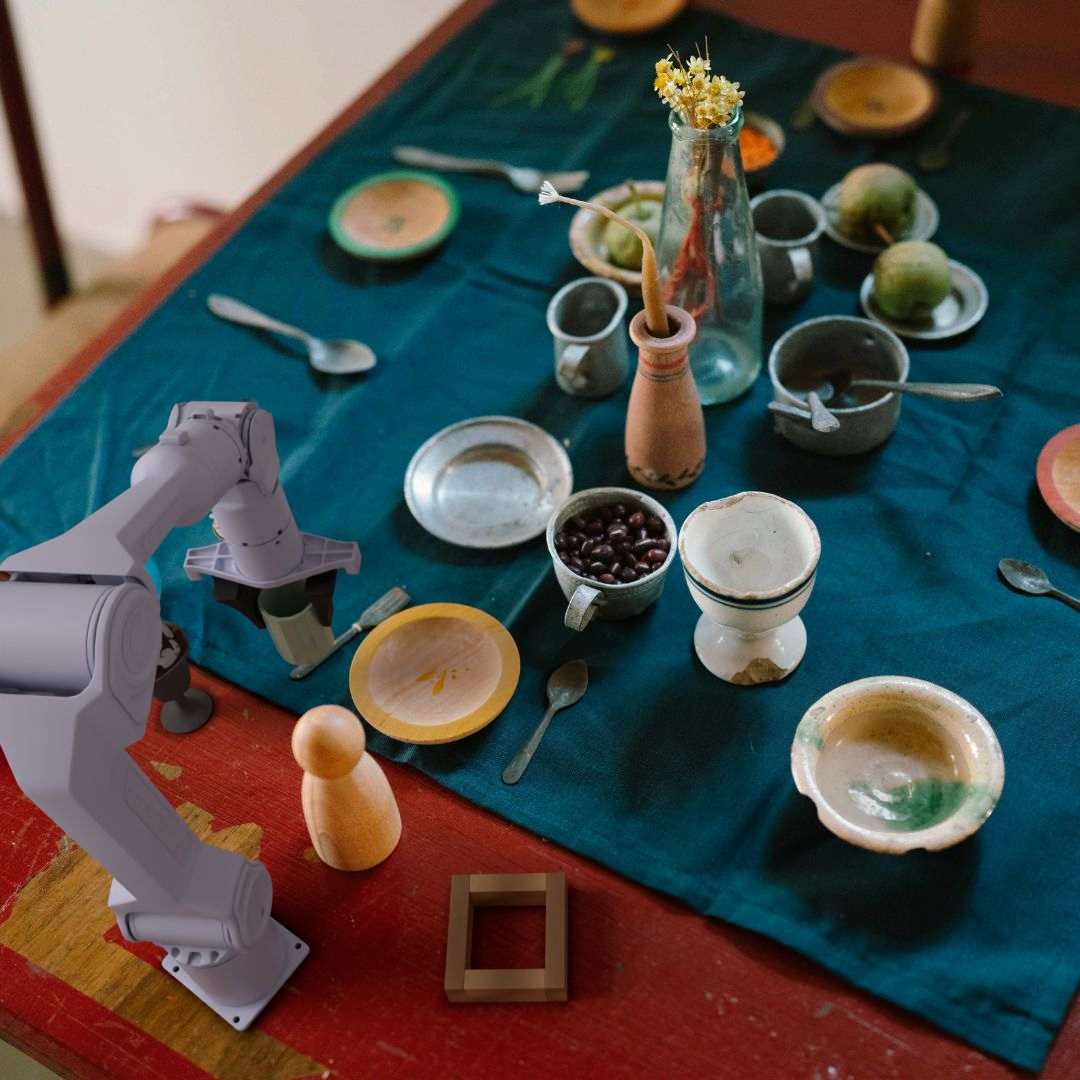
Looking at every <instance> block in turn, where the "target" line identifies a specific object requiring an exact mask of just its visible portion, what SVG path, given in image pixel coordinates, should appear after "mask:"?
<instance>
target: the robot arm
mask: <svg viewBox="0 0 1080 1080" xmlns="http://www.w3.org/2000/svg"><path fill="white" fill-rule="evenodd" d="M169 415H170V416H169V419H168V423H167V426H166V429H165V430H163V432H162V434H160V435H159V437H158V439H159V441H158V442H157V443H156V444H154V446H152V447H151V448H150V449H149V450H148V451H147V452H145V453H144V454H143V455H142V456H140V457H139V459H137V461H136V462H135V464H134V465H133V468H132V471H131V473H130V487H129V488H128V489H126V490H125V491H123V492H122V493H121V494H119V495H118V496H116V497H115V498H113V499H112V500H111V501H109V502H108V503H106V504H105V505H103V506H102V507H101V508H99V509H98V510H96V511H95V512H93V513H92V514H90V515H88V516H87V517H86V518H85V519H83V520H82V521H80V522H79V523H77V524H76V525H74V526H73V527H72V528H71V529H69V530H67V531H66V532H64V533H62V534H60V535H58V536H55V537H53V538H51V539H48V540H46V541H44V542H42V543H39V544H36V545H34V546H32V547H29V548H27V549H24V550H22V551H20V552H19V551H18V552H17V553H15V554H12V555H10V556H8V557H6V558H5V560H3V561H2V562H1V564H0V572H5V573H7V574H9V575H10V578H9V579H7V578H1V577H0V747H1V749H2V752H3V754H4V756H5V759H6V761H7V763H8V765H9V767H10V769H11V772H12V774H13V777H14V778H15V781H16V784H17V785H18V788H20V790H21V791H22V792H23V794H24V795H25V796H26V797H27V798H28V799H29V800H31V802H33V803H34V805H36V806H37V808H39V809H40V810H41V811H42V812H43V813H44V814H45V815H47V817H48V818H49V819H50V820H51V821H52V822H54V823H55V824H56V825H57V826H58V827H59V828H60V829H61V830H62V831H63V832H65V833H66V835H68V836H69V837H70V838H71V840H73V841H74V842H75V843H76V844H77V845H78V846H79V847H80V848H81V849H83V851H85V852H86V853H87V854H88V855H89V857H91V858H92V859H93V860H94V861H95V862H96V863H97V864H98V865H100V866H101V868H103V869H104V871H106V872H107V873H108V874H109V875H110V876H111V877H112V881H111V884H110V889H109V894H108V901H107V906H108V908H109V909H110V910H111V911H112V912H113V913H114V914H115V917H116V922H117V926H118V928H119V929H120V932H121V934H122V936H123V938H124V939H125V940H126V941H127V942H131V943H142V942H149V943H150V942H151V943H153V944H154V946H156V947H161V948H163V949H164V950H165V951H166V952H167V953H168V954H167V955H166V956H165V957H164V958H163V960H162V961H161V965H162V967H163V969H164V970H166V971H167V972H168V973H169V974H170V975H171V976H173V977H174V978H175V979H176V980H177V981H179V983H181V984H182V985H183V986H184V987H186V988H187V989H188V990H189V991H191V992H192V993H193V994H194V995H195V996H196V997H198V998H199V999H200V1000H201V1001H202V1002H204V1004H206V1005H207V1006H208V1007H209V1008H210V1009H212V1010H213V1011H214V1012H215V1013H216V1014H218V1015H219V1016H220V1017H221V1018H222V1019H224V1020H225V1021H226V1022H227V1023H228V1024H230V1025H231V1026H232V1027H233V1028H234V1029H235V1030H237V1031H238V1032H244V1031H246V1030H247V1029H248V1028H249V1027H250V1025H251V1024H252V1023H253V1022H254V1021H255V1019H256V1018H257V1017H258V1016H259V1015H260V1013H261V1012H262V1011H263V1010H264V1008H265V1007H266V1006H267V1005H268V1004H269V1003H270V1001H271V1000H272V999H273V998H274V996H275V995H276V994H277V993H278V992H279V990H280V989H281V988H282V987H283V985H284V984H285V983H286V982H287V981H288V980H289V979H290V977H291V976H292V975H293V973H294V972H295V971H296V970H297V969H298V968H299V966H300V965H301V964H302V963H303V961H304V960H305V959H306V958H307V957H308V955H309V954H310V950H311V949H310V947H309V945H308V944H307V943H305V942H304V941H303V940H301V939H300V938H299V937H298V936H296V935H295V934H294V933H292V932H291V931H290V930H289V929H287V928H286V927H285V926H284V925H282V923H280V922H278V921H277V920H275V919H274V918H273V917H272V916H271V913H272V906H273V895H274V894H273V882H272V877H271V874H270V872H269V871H268V869H267V866H266V865H265V864H264V863H263V862H262V860H261V861H260V860H248V859H247V857H246V856H245V855H243V854H241V853H238V852H235V851H231V850H228V849H225V848H222V847H218V846H214V845H213V844H212V845H211V844H208V843H205V842H203V841H202V840H201V839H200V838H199V836H198V835H197V834H196V833H195V831H193V829H192V828H191V827H190V825H189V824H188V823H187V821H185V819H184V818H183V817H182V816H181V815H180V814H179V813H178V811H177V810H176V809H175V808H174V807H173V805H172V804H171V802H169V801H168V799H167V798H166V796H164V795H163V793H162V792H161V791H160V790H159V788H158V787H157V786H156V785H155V784H154V782H153V781H151V779H150V777H148V775H147V774H146V773H145V772H144V771H143V770H142V768H141V767H140V766H139V765H138V763H136V761H135V760H134V758H132V756H131V755H130V754H129V753H128V752H127V750H126V749H127V748H128V747H130V746H132V745H133V744H135V743H136V742H138V741H139V740H142V739H143V738H144V737H145V735H146V729H147V723H148V718H149V716H150V712H151V705H152V701H153V697H152V694H153V688H154V682H155V676H156V669H157V663H158V659H159V655H160V651H161V644H162V623H161V622H162V617H161V610H162V609H161V603H160V598H159V594H158V590H157V588H156V587H157V586H156V585H155V583H154V580H153V578H152V576H151V575H150V572H149V571H148V569H147V568H146V567H145V565H146V564H147V562H148V561H149V559H150V558H151V557H152V556H153V554H154V553H155V552H156V551H157V549H158V548H159V546H160V545H161V544H162V542H164V540H165V538H166V537H167V536H168V535H169V533H170V532H171V531H172V530H173V528H185V527H186V528H187V527H190V526H193V525H196V524H198V523H199V522H200V521H202V520H203V519H205V517H206V516H207V515H208V514H209V513H210V512H212V513H213V514H214V517H215V519H216V521H217V523H218V525H219V528H220V530H221V532H222V534H223V536H224V539H225V541H223V540H222V541H220V542H217V543H213V544H210V545H206V546H202V547H194V548H188V549H187V551H186V556H185V559H184V563H183V566H182V567H183V569H184V571H185V573H186V575H187V577H188V578H189V581H201V580H203V579H204V576H205V575H209V576H211V577H212V580H213V581H212V582H213V587H212V593H211V594H212V597H213V598H214V600H215V602H216V603H218V604H223V605H225V606H228V607H230V608H232V609H233V610H236V611H237V612H238V613H240V614H241V615H243V617H245V618H247V619H248V620H249V621H250V622H251V623H252V624H253V625H254V626H255V627H257V629H259V630H267V626H266V624H265V622H264V619H263V617H262V615H261V613H260V611H259V607H258V600H257V599H258V596H259V594H260V592H261V589H262V588H274V587H278V586H281V585H284V584H288V583H291V582H294V581H297V580H300V579H303V578H307V579H306V584H305V590H304V597H305V598H306V599H308V600H309V601H310V602H311V603H312V605H313V606H314V608H315V609H316V612H317V614H318V617H319V620H320V623H321V624H322V626H323V627H330V626H331V625H332V626H333V618H334V611H335V607H334V598H333V596H334V594H335V590H336V583H337V578H338V573H339V570H342V569H344V570H345V573H346V574H347V575H359V574H360V569H361V564H362V563H361V562H362V553H361V550H360V548H359V544H358V542H357V541H342V540H336V539H333V538H329V537H325V536H321V535H318V534H313V533H309V532H307V531H301V530H299V528H298V526H297V522H296V520H295V518H294V515H293V512H292V510H291V507H290V504H289V502H288V499H287V496H286V494H285V491H284V488H283V486H282V483H281V480H280V478H279V474H280V472H281V471H280V470H281V464H280V460H281V459H280V458H279V457H280V456H279V455H278V451H277V445H276V429H275V423H274V419H273V415H272V412H268V411H267V410H265V409H263V408H260V406H259V405H258V404H257V403H254V402H253V401H211V400H210V401H209V400H208V401H207V400H205V401H203V400H202V401H200V400H192V401H189V402H187V401H182V402H180V403H175V404H174V406H173V408H172V410H171V412H170V414H169ZM298 946H300V948H297V947H298ZM178 968H179V969H178ZM177 969H178V970H177ZM176 970H177V971H176ZM237 1019H239V1021H238V1022H236V1020H237Z"/></svg>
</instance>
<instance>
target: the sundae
mask: <svg viewBox="0 0 1080 1080" xmlns="http://www.w3.org/2000/svg"><path fill="white" fill-rule="evenodd" d="M161 623H162V644H161V651H160V655H159V659H158V663H157V669H156V676H155V682H154V688H153V694H152V699H154V700H155V701H158V702H161V703H164V704H163V706H162V707H161V710H160V716H159V719H160V723H161V725H162V727H163V728H164V729H165V730H167V731H168V732H170V733H173V734H178V735H179V734H180V735H181V734H188V733H191V732H193V731H195V730H197V729H199V728H200V727H202V726H203V725H204V724H205V723H206V722H207V721H208V719H209V718H210V716H211V713H212V710H213V701H212V698H211V696H210V695H209V694H208V693H207V692H206V691H204V690H202V689H198V688H190V687H191V685H192V676H191V669H190V665H189V662H188V659H187V656H188V654H189V652H190V641H189V638H188V636H187V634H186V632H185V630H184V629H183V628H182V627H181V626H180V625H178V624H177V623H175V622H171V621H161Z"/></svg>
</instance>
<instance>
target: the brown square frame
mask: <svg viewBox="0 0 1080 1080" xmlns="http://www.w3.org/2000/svg"><path fill="white" fill-rule="evenodd" d="M567 882H568V881H567V876H566V872H534V873H533V872H530V873H529V872H527V873H525V872H524V873H522V872H521V873H480V874H479V873H475V874H452V875H451V885H450V886H451V887H450V901H449V914H448V929H447V944H446V960H445V973H444V974H445V975H444V988H443V989H444V991H445V994H446V996H447V999H448V1002H449V1003H529V1002H531V1003H532V1002H533V1003H534V1002H535V1003H536V1002H537V1003H538V1002H568V883H567ZM526 906H528V907H532V906H534V907H535V906H538V907H539V906H545V955H544V958H545V959H544V960H545V962H544V963H545V965H544V967H545V968H501V969H500V968H499V969H497V968H494V969H492V968H490V969H471V968H472V967H471V966H472V948H473V947H472V946H473V933H474V932H473V930H474V929H473V928H474V910H475V908H477V907H526Z"/></svg>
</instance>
